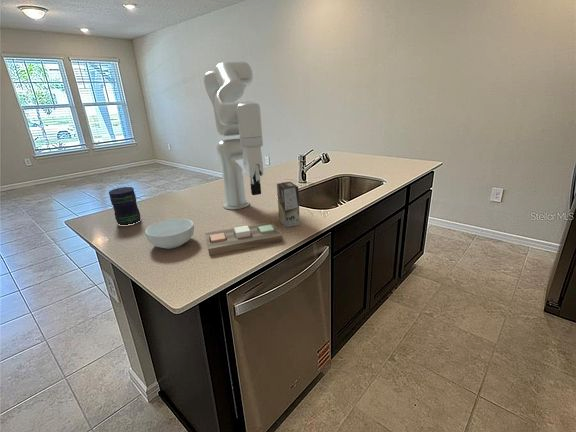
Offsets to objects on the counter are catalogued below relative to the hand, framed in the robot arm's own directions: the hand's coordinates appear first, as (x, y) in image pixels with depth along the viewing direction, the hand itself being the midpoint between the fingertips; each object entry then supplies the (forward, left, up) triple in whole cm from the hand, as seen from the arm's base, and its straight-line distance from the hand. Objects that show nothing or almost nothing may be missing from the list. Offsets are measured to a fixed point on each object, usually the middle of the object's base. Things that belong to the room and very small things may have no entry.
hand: (256, 194), depth 111 cm
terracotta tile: (0, -15, -17) cm, 23 cm away
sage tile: (0, +3, -17) cm, 17 cm away
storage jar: (-39, -50, -17) cm, 66 cm away
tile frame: (0, -6, -17) cm, 18 cm away
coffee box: (-9, +15, -17) cm, 24 cm away
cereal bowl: (-8, -31, -17) cm, 37 cm away
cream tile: (0, -6, -15) cm, 17 cm away
